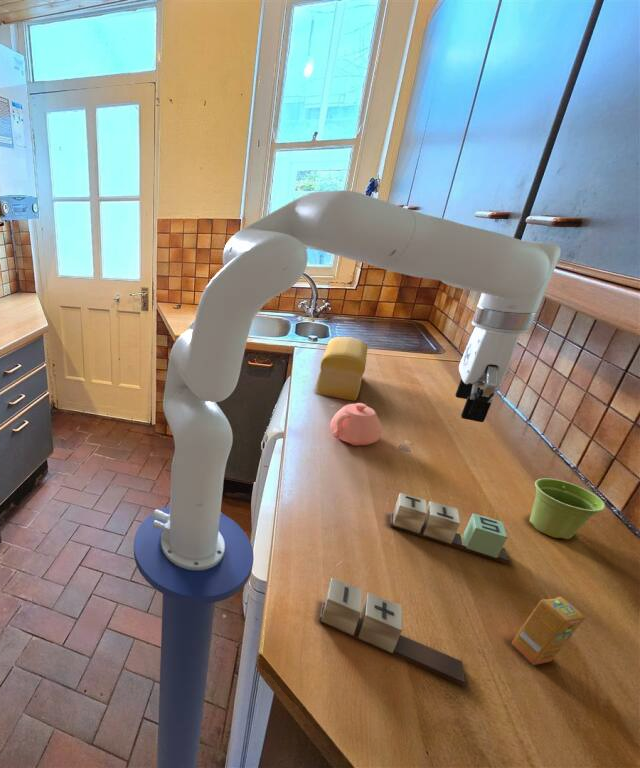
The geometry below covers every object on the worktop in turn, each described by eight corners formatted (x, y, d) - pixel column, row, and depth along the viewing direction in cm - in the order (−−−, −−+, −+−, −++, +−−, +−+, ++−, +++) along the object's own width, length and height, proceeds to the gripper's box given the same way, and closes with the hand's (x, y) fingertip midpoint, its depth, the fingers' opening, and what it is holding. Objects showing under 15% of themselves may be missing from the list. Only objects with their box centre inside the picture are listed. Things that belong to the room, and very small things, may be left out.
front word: (318, 624, 63) (325, 597, 60) (322, 602, 66) (329, 576, 64) (463, 691, 54) (478, 662, 52) (459, 661, 57) (474, 633, 55)
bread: (323, 369, 156) (330, 332, 150) (360, 375, 150) (370, 337, 144) (314, 393, 137) (322, 351, 131) (357, 401, 131) (368, 358, 125)
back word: (389, 528, 81) (397, 504, 78) (390, 514, 84) (398, 491, 82) (507, 566, 72) (520, 541, 70) (502, 549, 76) (515, 524, 73)
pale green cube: (466, 548, 75) (475, 527, 73) (463, 533, 78) (472, 512, 76) (497, 558, 73) (507, 536, 70) (492, 542, 76) (503, 521, 74)
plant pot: (527, 505, 86) (544, 472, 83) (589, 533, 79) (611, 497, 75) (511, 523, 82) (528, 489, 78) (576, 554, 74) (598, 518, 71)
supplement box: (534, 668, 57) (566, 620, 52) (510, 643, 60) (537, 597, 56) (554, 663, 57) (587, 616, 53) (529, 640, 60) (558, 593, 56)
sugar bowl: (388, 443, 108) (399, 410, 104) (350, 455, 104) (359, 421, 99) (350, 422, 119) (357, 391, 115) (313, 432, 114) (320, 400, 110)
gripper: (467, 305, 77) (440, 387, 84) (481, 328, 63) (447, 423, 70) (520, 310, 73) (486, 395, 80) (546, 335, 60) (503, 435, 67)
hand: (468, 408), depth 75 cm, fingers open, 9 cm apart
